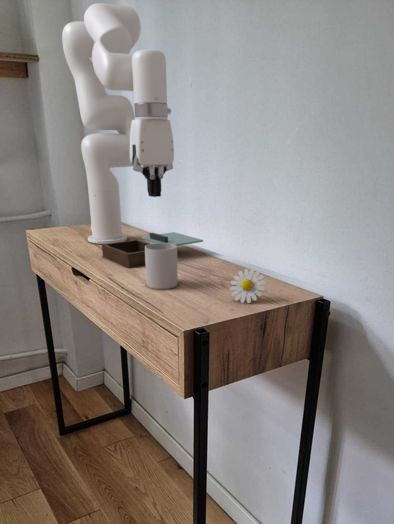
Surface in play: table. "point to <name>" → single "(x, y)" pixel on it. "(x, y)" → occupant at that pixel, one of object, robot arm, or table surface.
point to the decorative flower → (247, 285)
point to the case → (126, 252)
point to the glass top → (172, 238)
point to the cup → (161, 265)
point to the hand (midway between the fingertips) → (154, 196)
